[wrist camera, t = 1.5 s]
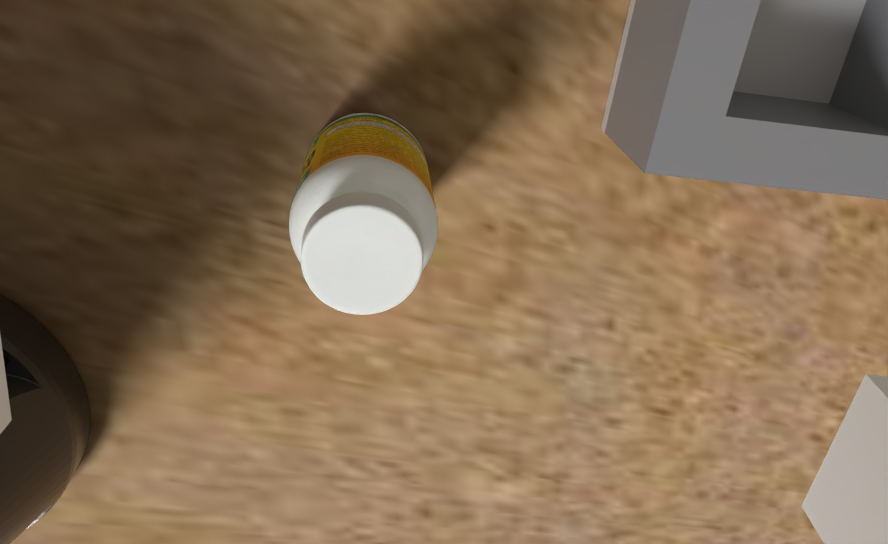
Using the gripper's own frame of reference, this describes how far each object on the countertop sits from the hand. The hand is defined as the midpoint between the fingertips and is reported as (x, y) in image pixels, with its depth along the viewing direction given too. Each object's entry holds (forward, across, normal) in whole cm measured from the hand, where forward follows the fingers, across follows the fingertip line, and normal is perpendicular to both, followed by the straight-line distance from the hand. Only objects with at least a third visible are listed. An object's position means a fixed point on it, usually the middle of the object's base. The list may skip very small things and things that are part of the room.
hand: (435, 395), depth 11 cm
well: (+23, -14, -5) cm, 27 cm away
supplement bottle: (+22, +2, +4) cm, 23 cm away
